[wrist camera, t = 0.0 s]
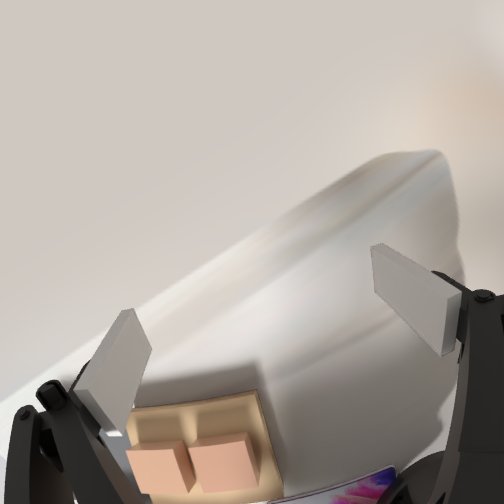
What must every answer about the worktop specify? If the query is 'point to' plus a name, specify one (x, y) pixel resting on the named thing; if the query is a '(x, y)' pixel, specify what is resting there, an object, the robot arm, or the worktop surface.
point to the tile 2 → (225, 463)
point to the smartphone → (349, 490)
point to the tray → (123, 459)
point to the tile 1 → (161, 467)
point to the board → (210, 425)
